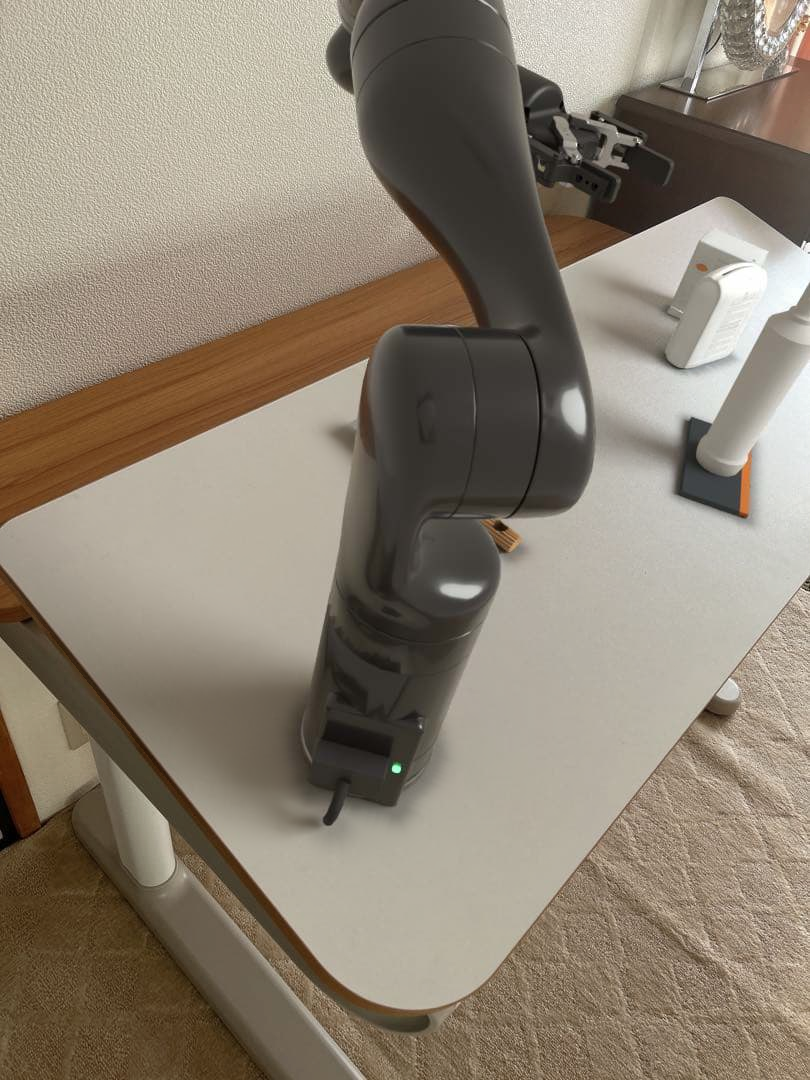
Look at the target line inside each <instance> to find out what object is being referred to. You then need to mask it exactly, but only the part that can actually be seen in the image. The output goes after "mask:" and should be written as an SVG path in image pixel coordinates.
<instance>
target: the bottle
mask: <svg viewBox="0 0 810 1080" xmlns="http://www.w3.org/2000/svg"><path fill="white" fill-rule="evenodd" d="M809 361H810V281H809V282H808V284H807V286H806V288H805V289H804V291H803V293H802V294H801V296H800V298H799V299H798V301H797V303H796V305H792V306H790V307H789V309H788V310H785V311H781V312H777V313H773V314H771V315H770V316H769V317H768V318H767V320H766V322H765V324H764V325H763V327H762V329H761V332H760V333H759V335H758V337H757V339H756V340H755V343H754V345H753V346H752V348H751V350H750V351H749V354H748V356H747V358H746V359H745V362H743V363H744V364H743V365H742V367H741V369H740V370H739V373H738V374H737V377H736V379H735V380H734V382H733V384H732V386H731V388H730V390H729V391H728V394H727V395H726V398H725V399H724V401H723V403H722V405H721V406H720V409H719V411H718V412H717V415H716V416H715V417H714V420H713V422H712V423H711V424H712V426H711V427H710V429H709V431H708V433H707V435H705V436H704V437H702V438H701V440H700V442H699V444H698V447H697V451H696V458H697V460H698V462H699V464H700V465H701V466H702V467H703V468H705V469H706V470H708V471H709V472H711V473H713V474H716V475H719V476H726V477H729V476H733V475H735V474H737V473H738V472H739V471H740V470H741V469H742V467H743V466H744V465H745V463H746V462H747V460H748V454H749V452H750V450H751V451H752V449H753V448H754V446H755V444H756V443H757V441H758V440H759V439H760V437H761V435H762V433H763V432H764V430H765V429H766V428H767V426H768V425H769V423H770V421H772V418H773V417H774V415H775V413H776V412H777V411H778V409H779V407H780V406H781V405H782V403H783V401H784V400H785V398H786V397H787V395H788V393H789V392H790V390H791V389H792V388H793V386H794V384H795V383H796V382H797V379H798V378H799V376H800V375H801V373H802V372H803V370H805V367H806V366H807V364H808V362H809Z"/></svg>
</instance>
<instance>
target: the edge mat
mask: <svg viewBox="0 0 810 1080" xmlns="http://www.w3.org/2000/svg"><path fill="white" fill-rule="evenodd" d="M712 424H713V423H711V422H708V421H705V420H702V419H700V418H697V417H694V416H691V417H690V419H689V422H688V427H687V428H688V430H687V436H686V437H687V438H686V445H685V453H684V460H683V467H682V474H681V475H682V476H681V482H680V483H681V484H680V490H679V492H680V493H679V496H681V497H685V498H688V499H690V500H692V501H696V502H699V503H701V504H704V505H706V506H710V507H713V508H716V509H718V510H720V511H723V512H726V513H730V514H732V515H735V516H738V517H740V518H744V519H747V518H748V517H749V516H750V499H751V498H750V497H751V495H750V493H751V473H752V472H751V470H752V449H751V450H750V452H749V454H748V460H747V462H746V463H745V465H744V466H743V467H742V469H741V470H740V471H739V472H738V473H737V474H735V475H733V476H729V477H726V476H719V475H716V474H713V473H711V472H709V471H708V470H706V469H705V468H703V467H702V466H701V465H700V464H699V462H698V460H697V458H696V451H697V447H698V444H699V442H700V440H701V438H702V437H704V436H705V435H707V433H708V431H709V429H710V427H711V426H712Z"/></svg>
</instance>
